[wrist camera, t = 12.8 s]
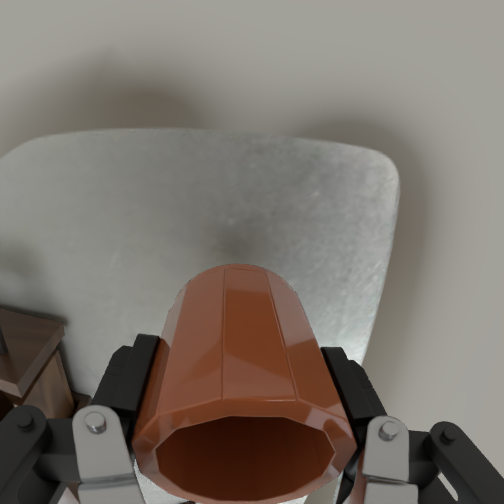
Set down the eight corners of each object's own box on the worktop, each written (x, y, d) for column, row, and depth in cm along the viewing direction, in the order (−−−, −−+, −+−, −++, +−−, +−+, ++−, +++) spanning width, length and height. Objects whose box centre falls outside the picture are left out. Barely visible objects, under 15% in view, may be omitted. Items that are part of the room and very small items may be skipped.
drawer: (-40, 251, 19) (-97, 286, 11) (54, 264, 20) (-7, 317, 12) (13, 414, 25) (-13, 459, 18) (95, 440, 26) (77, 496, 19)
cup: (171, 256, 12) (116, 384, 5) (314, 269, 12) (388, 393, 6) (171, 368, 14) (147, 499, 7) (290, 376, 14) (320, 503, 8)
